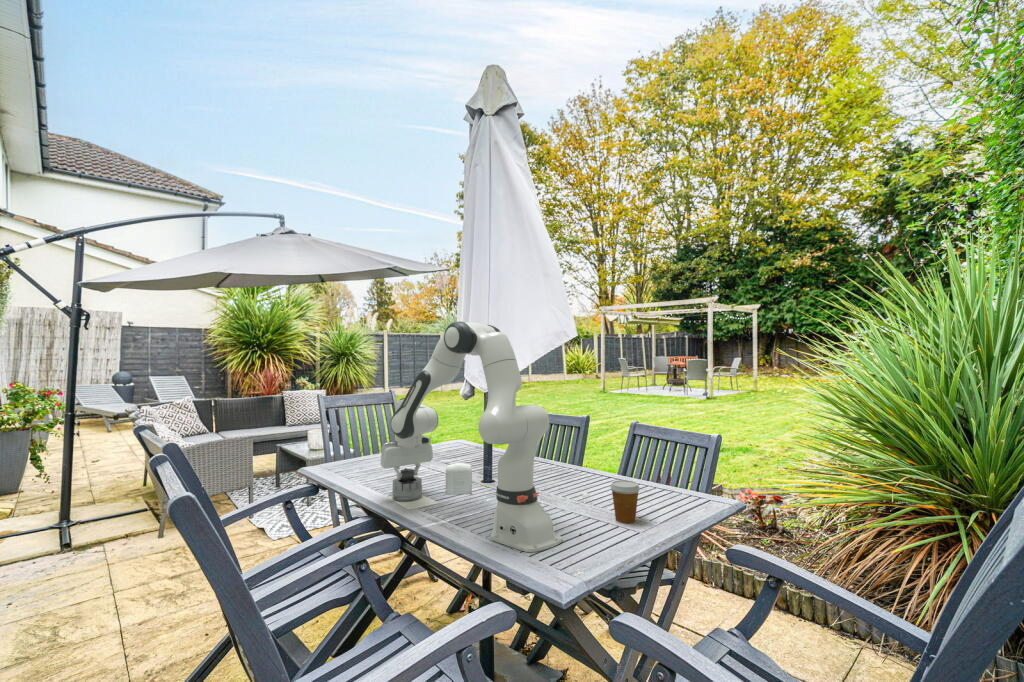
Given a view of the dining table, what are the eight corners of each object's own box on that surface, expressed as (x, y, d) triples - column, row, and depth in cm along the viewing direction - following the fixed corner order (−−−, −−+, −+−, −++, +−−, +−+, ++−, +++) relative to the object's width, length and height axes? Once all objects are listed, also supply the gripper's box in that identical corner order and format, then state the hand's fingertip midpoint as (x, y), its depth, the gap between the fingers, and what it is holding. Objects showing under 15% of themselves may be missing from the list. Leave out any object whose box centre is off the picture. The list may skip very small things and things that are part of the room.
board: (438, 505, 177) (438, 502, 177) (408, 512, 169) (408, 509, 169) (415, 493, 192) (415, 491, 192) (386, 499, 184) (386, 497, 184)
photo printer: (471, 492, 192) (471, 461, 193) (472, 496, 188) (472, 464, 188) (445, 494, 191) (445, 462, 191) (445, 497, 187) (445, 465, 187)
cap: (416, 478, 183) (416, 469, 184) (403, 480, 180) (403, 471, 180) (410, 475, 187) (410, 466, 187) (398, 478, 184) (398, 468, 184)
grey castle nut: (427, 497, 183) (427, 480, 183) (400, 503, 176) (400, 485, 176) (414, 491, 191) (414, 474, 192) (387, 496, 185) (387, 479, 185)
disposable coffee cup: (608, 515, 165) (608, 479, 165) (637, 515, 164) (636, 479, 165) (612, 525, 156) (612, 487, 156) (643, 525, 155) (642, 487, 155)
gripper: (384, 444, 175) (384, 483, 175) (434, 438, 188) (434, 473, 188) (377, 442, 180) (377, 479, 180) (426, 435, 193) (427, 470, 193)
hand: (407, 476), depth 184 cm, fingers closed on cap, 5 cm apart
